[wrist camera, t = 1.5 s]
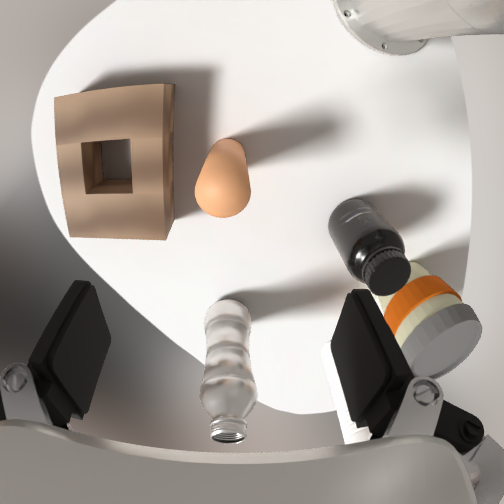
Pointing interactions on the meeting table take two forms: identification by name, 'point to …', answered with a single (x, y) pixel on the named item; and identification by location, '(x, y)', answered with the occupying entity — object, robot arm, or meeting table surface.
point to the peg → (224, 180)
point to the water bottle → (342, 401)
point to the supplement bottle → (369, 247)
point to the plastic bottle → (228, 371)
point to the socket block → (142, 161)
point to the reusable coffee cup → (431, 324)
